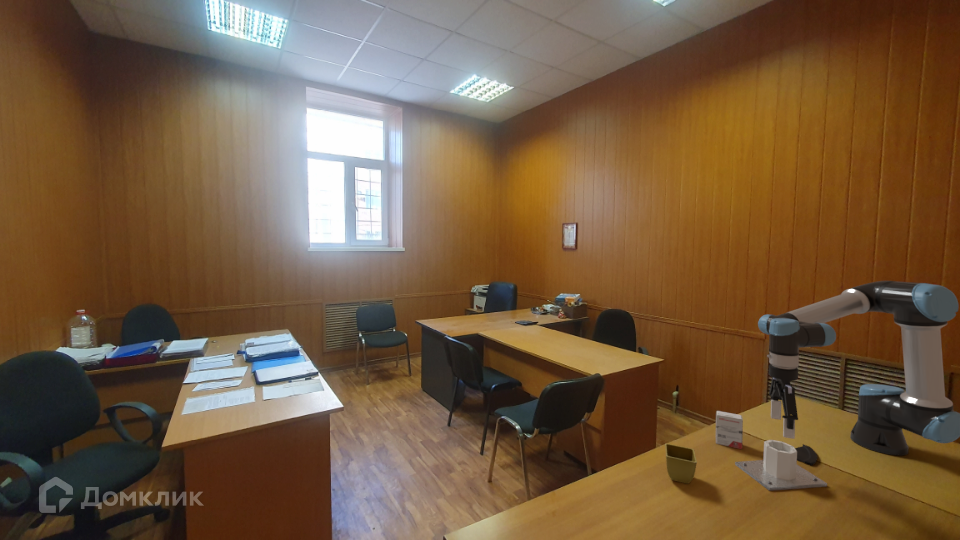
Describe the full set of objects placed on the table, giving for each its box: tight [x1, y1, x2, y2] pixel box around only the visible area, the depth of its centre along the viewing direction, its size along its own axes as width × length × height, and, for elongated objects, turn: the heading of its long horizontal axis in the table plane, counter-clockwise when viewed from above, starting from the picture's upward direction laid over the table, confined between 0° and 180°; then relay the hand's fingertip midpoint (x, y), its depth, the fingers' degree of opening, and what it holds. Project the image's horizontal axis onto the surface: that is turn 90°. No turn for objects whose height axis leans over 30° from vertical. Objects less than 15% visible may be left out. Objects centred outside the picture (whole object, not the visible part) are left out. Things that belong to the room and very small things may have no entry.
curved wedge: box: [794, 443, 818, 466], centre depth 136 cm, size 8×14×2 cm, turn 123°
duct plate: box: [734, 459, 828, 492], centre depth 124 cm, size 20×14×7 cm
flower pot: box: [664, 443, 698, 484], centre depth 123 cm, size 9×9×9 cm
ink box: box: [715, 410, 744, 450], centre depth 144 cm, size 9×5×12 cm, turn 58°
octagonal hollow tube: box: [762, 439, 798, 480], centre depth 124 cm, size 8×8×9 cm
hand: (782, 427), depth 123 cm, fingers open, 13 cm apart
